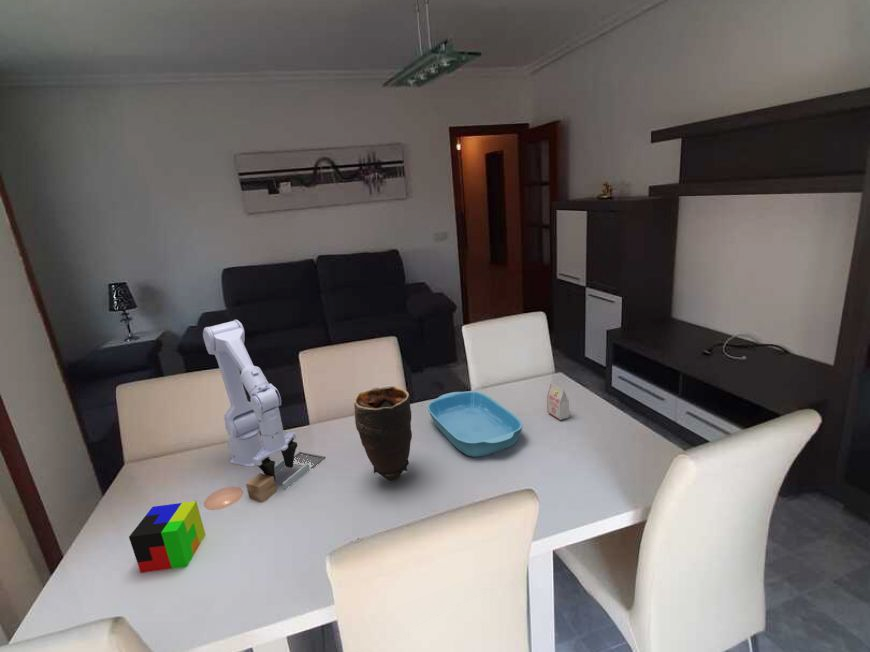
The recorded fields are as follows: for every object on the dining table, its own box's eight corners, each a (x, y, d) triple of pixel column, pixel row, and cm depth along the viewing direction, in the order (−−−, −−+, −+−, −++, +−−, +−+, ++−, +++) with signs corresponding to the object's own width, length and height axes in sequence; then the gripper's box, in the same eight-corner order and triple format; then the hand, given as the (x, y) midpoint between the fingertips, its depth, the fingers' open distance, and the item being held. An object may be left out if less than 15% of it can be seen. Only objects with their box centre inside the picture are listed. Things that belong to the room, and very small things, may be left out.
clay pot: (366, 501, 118) (353, 413, 111) (362, 469, 132) (350, 389, 125) (423, 489, 120) (413, 402, 114) (413, 458, 135) (404, 380, 128)
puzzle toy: (163, 542, 110) (152, 506, 107) (205, 536, 111) (196, 501, 108) (141, 574, 100) (128, 536, 98) (187, 568, 101) (176, 530, 98)
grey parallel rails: (260, 485, 129) (258, 477, 128) (285, 465, 138) (283, 458, 137) (285, 491, 125) (284, 483, 124) (309, 471, 134) (308, 463, 133)
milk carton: (556, 409, 157) (555, 382, 154) (569, 417, 151) (568, 389, 148) (547, 411, 156) (546, 384, 153) (559, 419, 150) (559, 391, 147)
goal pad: (195, 506, 122) (195, 505, 122) (225, 484, 131) (225, 483, 131) (221, 514, 118) (221, 513, 118) (251, 491, 127) (251, 490, 126)
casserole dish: (536, 449, 135) (536, 427, 133) (469, 472, 126) (467, 449, 124) (476, 403, 167) (475, 385, 165) (420, 419, 159) (418, 400, 157)
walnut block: (249, 499, 123) (245, 483, 122) (263, 488, 127) (260, 472, 126) (262, 503, 121) (259, 487, 119) (276, 492, 125) (273, 476, 124)
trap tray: (286, 463, 139) (286, 462, 138) (300, 453, 144) (299, 451, 144) (312, 469, 134) (312, 467, 134) (325, 458, 140) (325, 456, 139)
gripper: (263, 446, 118) (273, 491, 122) (301, 420, 130) (308, 462, 134) (243, 442, 121) (253, 486, 125) (282, 417, 133) (290, 458, 137)
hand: (280, 473), depth 130 cm, fingers open, 6 cm apart
